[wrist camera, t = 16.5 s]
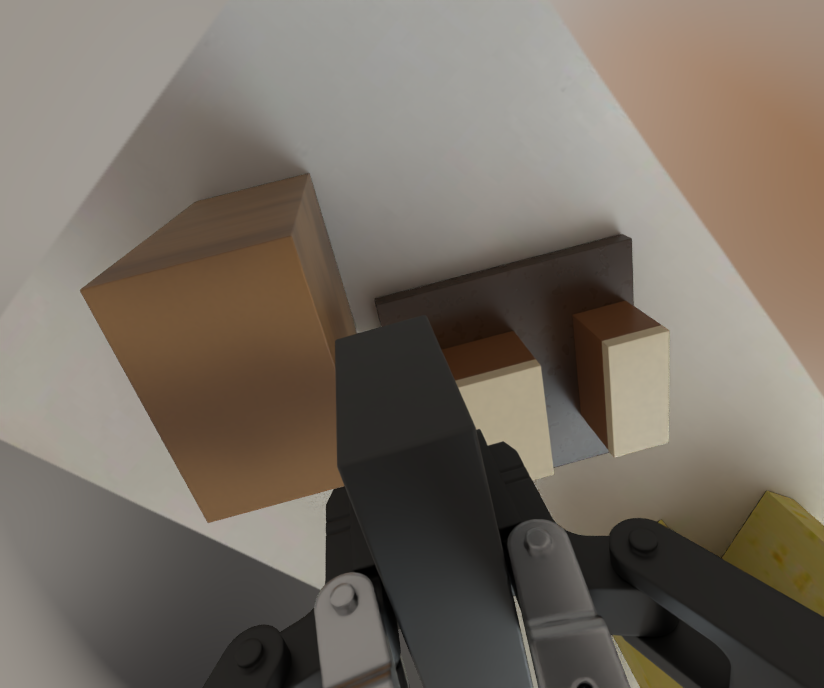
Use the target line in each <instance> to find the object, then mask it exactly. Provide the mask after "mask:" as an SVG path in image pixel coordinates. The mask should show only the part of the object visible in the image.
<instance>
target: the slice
mask: <svg viewBox="0 0 824 688" xmlns="http://www.w3.org/2000/svg"><path fill="white" fill-rule="evenodd" d="M572 318H573V329H574V341H575V352H576V363H577V375H578V386H579V397H580V409H581V416H582V417H583V419H584V420H585V421H586V422H587V424H588V425H589V426H590V428H591V429H592V430H593V431H594V433H595V434H596V435H597V436H598V438H599V439H600V440H601V442H602V443H603V444H604V445H605V447H606V448H607V449H608V450H609V452H610V453H611V454H612V456H613V457H614V458H615V457H619V456H623V455H626V454H630V453H633V452H637V451H641V450H644V449H648V448H652V447H655V446H659V445H662V444H666V443H669V339H670V331H669V330H668V329H667V328H665V327H664V326H662V325H661V324H659V323H658V322H656V321H655V320H653V319H652V318H650V317H649V316H648V315H646V314H645V313H643V312H642V311H640V310H639V309H637V308H636V307H634V306H633V305H632V304H630V303H629V302H627V301H622V302H618V303H614V304H611V305H607V306H603V307H600V308H596V309H592V310H588V311H585V312H581V313H577V314H573V315H572Z"/></svg>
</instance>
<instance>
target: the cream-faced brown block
mask: <svg viewBox="0 0 824 688" xmlns="http://www.w3.org/2000/svg"><path fill="white" fill-rule="evenodd" d="M442 352H443V354H444V356H445V359H446V361H447V363H448V366H449V368H450V370H451V372H452V375H453V377H454V379H455V382H456V384H457V386H458V388H459V391H460V393H461V395H462V397H463V400H464V402H465V404H466V407H467V409H468V411H469V413H470V416H471V418H472V420H473V422H474V425H475V427H476V430H477V429H480V430H481V431H482V434H483V436H484V438H485V440H486V443H487V445H492V444H495V443H499V442H502V441H504V442H505V443H507V444H508V445H509V446H511V447H512V448H514V449H515V450H516V451H517V452H518V454H519V456H520V458H521V460H522V462H523V464H524V467H526V469H527V471H528V473H529V476H530V477H531V479H532V480H536V479H540V478H543V477H547V476H551V475H554V468H553V460H552V452H551V444H550V436H549V428H548V420H547V412H546V403H545V395H544V387H543V379H542V371H541V365H540V364H539V363H538V361H537V360H536V359H535V357H534V356H533V355H532V354H531V352H530V351H529V350H528V348H527V347H526V346H525V345H524V343H523V342H522V341H521V340H520V338H519V337H518V336H517V335H516V333H515V332H514V331H510V332H506V333H503V334H499V335H495V336H491V337H488V338H484V339H480V340H476V341H473V342H469V343H465V344H461V345H457V346H454V347H450V348H446V349H442Z"/></svg>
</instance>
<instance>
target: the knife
mask: <svg viewBox="0 0 824 688" xmlns="http://www.w3.org/2000/svg"><path fill="white" fill-rule="evenodd" d="M335 380H336V437H337V468H338V471H339V473H340V476H341V478H342V481H343V483H344V486H345V489H346V491H347V494H348V496H349V499H350V501H351V504H352V506H353V509H354V512H355V514H356V517H357V519H358V522H359V524H360V527H361V529H362V532H363V535H364V537H365V540H366V542H367V545H368V547H369V550H370V552H371V555H372V558H373V560H374V563H375V565H376V568H377V570H378V573H379V575H380V578H381V581H382V583H383V586H384V588H385V591H386V593H387V596H388V598H389V601H390V603H391V606H392V609H393V611H394V614H395V616H396V619H397V621H398V624H399V626H400V629H401V632H402V634H403V637H404V639H405V642H406V644H407V647H408V649H409V652H410V654H411V657H412V659H413V662H414V665H415V667H416V670H417V672H418V675H419V678H420V680H421V683H422V685H423V688H533V683H532V679H531V674H530V670H529V665H528V661H527V656H526V652H525V647H524V643H523V638H522V634H521V629H520V625H519V620H518V616H517V611H516V607H515V602H514V598H513V593H512V589H511V584H510V580H509V575H508V571H507V566H506V562H505V557H504V553H503V548H502V544H501V539H500V535H499V530H498V526H497V521H496V517H495V512H494V508H493V503H492V499H491V494H490V490H489V485H488V481H487V476H486V472H485V467H484V463H483V458H482V454H481V449H480V445H479V440H478V436H477V431H476V427H475V425H474V422H473V420H472V418H471V416H470V413H469V411H468V409H467V407H466V404H465V402H464V400H463V397H462V395H461V393H460V391H459V388H458V386H457V384H456V382H455V379H454V377H453V375H452V372H451V370H450V368H449V366H448V363H447V361H446V359H445V356H444V354H443V352H442V350H441V347H440V345H439V343H438V341H437V338H436V336H435V334H434V331H433V329H432V327H431V325H430V322H429V320H428V318H427V316H426V315H422V316H419V317H415V318H412V319H408V320H404V321H401V322H397V323H394V324H390V325H386V326H383V327H379V328H376V329H372V330H369V331H365V332H361V333H358V334H354V335H351V336H347V337H343V338H340V339H337V340H335Z"/></svg>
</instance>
